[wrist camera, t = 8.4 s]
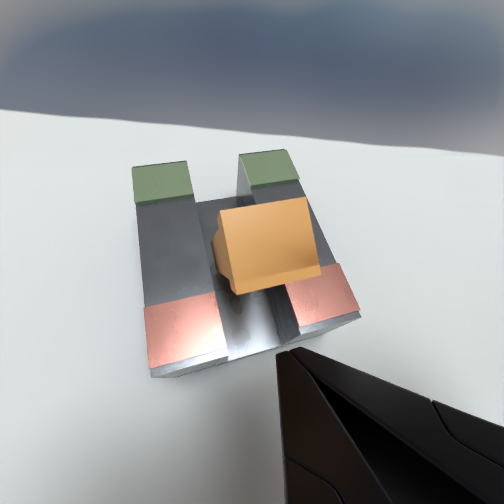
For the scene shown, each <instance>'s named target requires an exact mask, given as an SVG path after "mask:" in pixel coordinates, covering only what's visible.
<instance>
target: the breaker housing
mask: <svg viewBox="0 0 504 504" xmlns="http://www.w3.org/2000/svg"><path fill="white" fill-rule="evenodd" d="M132 178H133V190H134V202H135V204H136V212H137V224H138V235H139V246H140V257H141V269H142V280H143V291H144V302H145V308H144V317H145V328H146V340H147V351H148V363H149V369H150V370H151V378H164V377H178V376H182V375H185V374H188V373H192V372H195V371H199V370H202V369H206V368H209V367H212V366H216V365H219V364H223V363H226V362H230V361H233V360H236V359H240V358H243V357H247V356H250V355H254V354H257V353H260V352H264V351H267V350H271V349H274V348H277V347H281V346H284V345H288V344H291V343H295V342H298V341H301V340H305V339H308V338H312V337H315V336H319V335H322V334H325V333H327V332H329V331H331V330H334V329H336V328H338V327H340V326H343V325H345V324H347V323H350V322H352V321H354V320H356V319H359V318H361V315H360V313H359V310H360V308H359V305H358V303H357V301H356V299H355V297H354V295H353V292H352V290H351V288H350V286H349V284H348V282H347V279H346V277H345V275H344V273H343V271H342V269H341V266H340V264H339V263H336V261H335V259H334V256H333V254H332V252H331V250H330V248H329V245H328V243H327V241H326V239H325V237H324V235H323V232H322V230H321V228H320V226H319V224H318V221H317V219H316V217H315V215H314V213H313V210H312V208H311V206H310V204H309V202H308V200H307V204H308V209H309V214H310V219H311V224H312V229H313V234H314V239H315V244H316V250H317V255H318V260H319V265H320V270H321V275H320V276H315V277H311V278H307V279H303V280H299V281H294V282H290V283H286V284H282V285H277V286H273V287H269V288H265V289H261V290H256V291H252V292H248V293H244V294H240V295H236V294H235V293H234V292H233V291H232V290H231V286H230V281H229V279H228V278H226V277H225V276H224V275H222V274H221V273H220V272H218V271H217V270H216V268H215V263H214V258H213V253H212V248H211V243H210V242H211V240H212V239H213V237H214V235H215V234H216V232H217V230H218V228H219V226H218V221H217V217H218V214H219V212H220V211H221V210H227V209H233V208H239V207H245V206H251V205H257V204H264V203H270V202H276V201H282V200H288V199H294V198H300V197H306V195H305V193H304V191H303V189H302V186H301V184H300V182H299V179H300V178H299V175H298V173H297V171H296V169H295V167H294V165H293V162H292V160H291V158H290V156H289V154H288V152H287V150H285V149H280V150H271V151H263V152H254V153H246V154H239V162H238V178H237V194H236V197H230V198H224V199H217V200H211V201H204V202H198V203H195V199H194V193H193V189H192V184H191V180H190V175H189V170H188V166H187V161H178V162H170V163H161V164H153V165H144V166H136V167H133V168H132ZM306 198H307V197H306Z"/></svg>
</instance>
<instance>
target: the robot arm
mask: <svg viewBox="0 0 504 504" xmlns="http://www.w3.org/2000/svg"><path fill="white" fill-rule="evenodd" d="M276 369H277V383H278V398H279V412H280V426H281V440H282V455H283V472H284V491H285V504H504V427H503V426H500V425H497V424H494V423H491V422H489V421H486V420H484V419H481V418H478V417H476V416H473V415H471V414H468V413H465V412H463V411H460V410H458V409H455V408H453V407H450V406H448V405H445V404H443V403H440V402H438V401H435V400H433V401H432V402H431V400H430V399H429V398H426V397H424V396H421V395H419V394H417V393H414V392H412V391H409V390H407V389H404V388H402V387H399V386H397V385H394V384H392V383H389V382H387V381H384V380H382V379H380V378H377V377H375V376H372V375H370V374H367V373H365V372H362V371H360V370H357V369H355V368H352V367H350V366H348V365H345V364H343V363H340V362H338V361H335V360H333V359H330V358H328V357H325V356H323V355H320V354H318V353H315V352H313V351H311V350H308V349H306V348H303V347H298V348H295V349H291V350H290V351H284V352H281V353H278V354H276Z"/></svg>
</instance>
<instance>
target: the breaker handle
mask: <svg viewBox="0 0 504 504" xmlns="http://www.w3.org/2000/svg"><path fill="white" fill-rule="evenodd" d="M217 221H218V226H219V228H218V230H217V232H216V234H215V235H214V237H213V239H212V240H211V242H210V243H211V248H212V253H213V258H214V263H215V268H216V270H217V271H218V272H220V273H221V274H222V275H224V276H225V277H226V278H228V279H229V281H230V286H231V290H232V291H233V292H234V293H235V294H236V295H240V294H244V293H248V292H252V291H256V290H261V289H265V288H269V287H273V286H277V285H282V284H286V283H290V282H294V281H299V280H303V279H307V278H311V277H315V276H320V275H321V270H320V265H319V260H318V255H317V250H316V244H315V239H314V234H313V229H312V224H311V219H310V214H309V209H308V204H307V198H306V197H300V198H294V199H288V200H282V201H276V202H270V203H264V204H257V205H251V206H245V207H239V208H233V209H227V210H221V211H220V212H219V214H218V217H217Z"/></svg>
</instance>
